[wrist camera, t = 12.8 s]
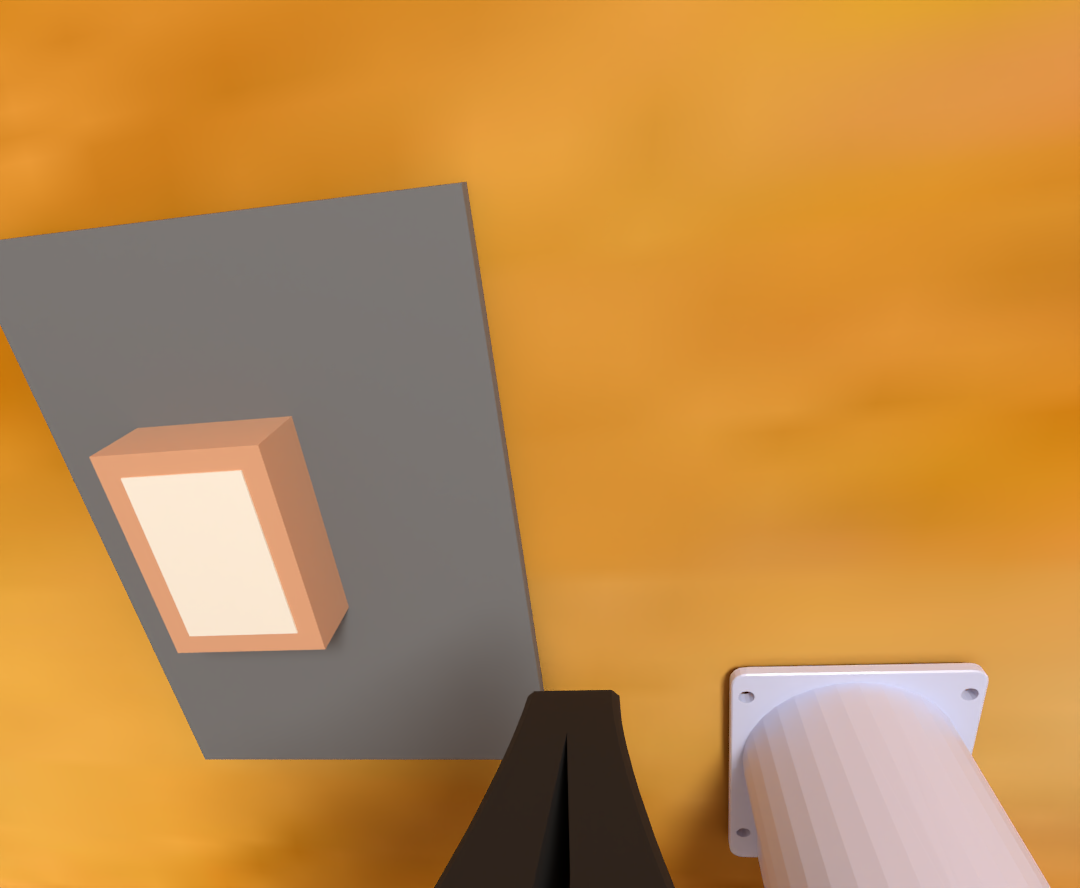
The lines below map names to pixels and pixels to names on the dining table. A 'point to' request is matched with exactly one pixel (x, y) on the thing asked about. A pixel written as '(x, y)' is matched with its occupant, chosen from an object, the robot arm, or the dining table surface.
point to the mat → (310, 450)
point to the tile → (226, 534)
